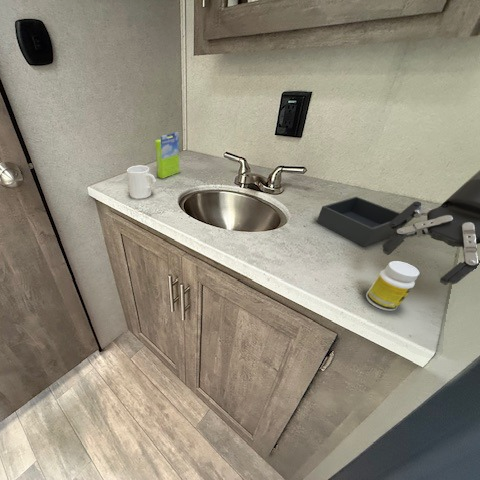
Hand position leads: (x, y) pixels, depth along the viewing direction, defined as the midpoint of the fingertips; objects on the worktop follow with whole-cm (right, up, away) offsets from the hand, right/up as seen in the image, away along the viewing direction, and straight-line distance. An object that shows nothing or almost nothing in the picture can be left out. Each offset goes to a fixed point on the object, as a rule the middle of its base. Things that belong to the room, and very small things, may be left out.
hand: (411, 266), depth 42 cm
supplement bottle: (-2, -7, +4) cm, 8 cm away
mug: (-50, +21, +49) cm, 73 cm away
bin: (+10, +8, +24) cm, 27 cm away
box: (-40, +34, +66) cm, 84 cm away
